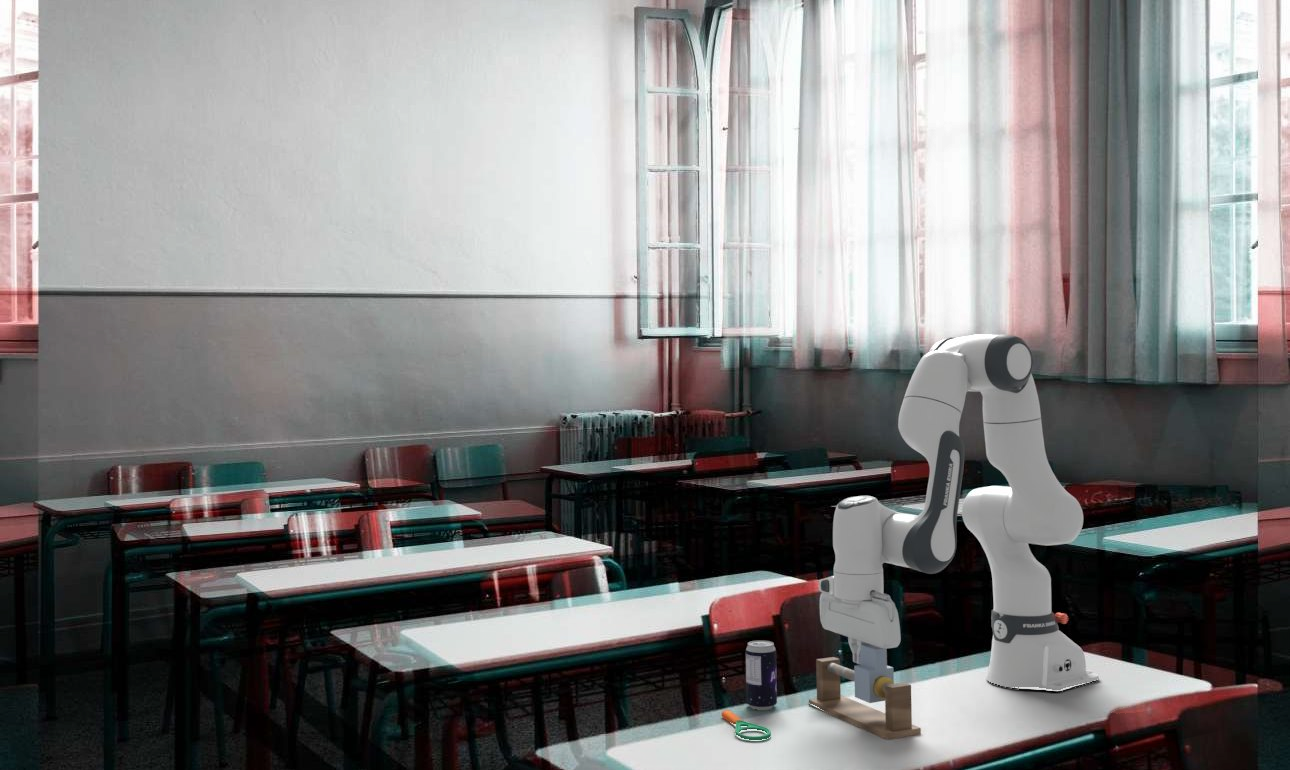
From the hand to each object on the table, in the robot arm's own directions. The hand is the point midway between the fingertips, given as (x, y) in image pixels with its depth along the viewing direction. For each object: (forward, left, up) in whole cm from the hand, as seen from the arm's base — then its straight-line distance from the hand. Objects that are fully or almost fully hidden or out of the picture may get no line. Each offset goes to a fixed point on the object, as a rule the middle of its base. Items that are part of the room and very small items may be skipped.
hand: (859, 663), depth 206 cm
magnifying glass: (+22, -5, -11) cm, 25 cm away
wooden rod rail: (0, +1, -10) cm, 10 cm away
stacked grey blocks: (0, +4, -5) cm, 7 cm away
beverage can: (+12, -14, -10) cm, 21 cm away
